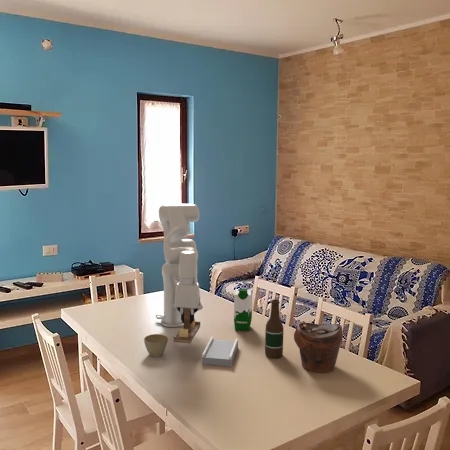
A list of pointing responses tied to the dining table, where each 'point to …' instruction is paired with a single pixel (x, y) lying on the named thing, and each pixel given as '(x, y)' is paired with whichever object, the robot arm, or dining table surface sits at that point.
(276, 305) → the beer bottle
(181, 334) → the crate
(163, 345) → the flower pot
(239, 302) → the milk carton
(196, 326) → the brown base with upright
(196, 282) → the robot arm
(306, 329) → the brown lidded bucket
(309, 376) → the dining table surface
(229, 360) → the tray
